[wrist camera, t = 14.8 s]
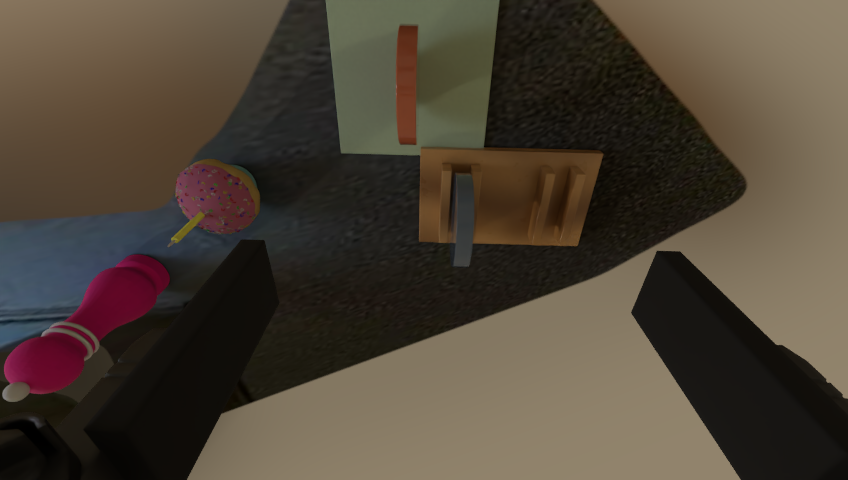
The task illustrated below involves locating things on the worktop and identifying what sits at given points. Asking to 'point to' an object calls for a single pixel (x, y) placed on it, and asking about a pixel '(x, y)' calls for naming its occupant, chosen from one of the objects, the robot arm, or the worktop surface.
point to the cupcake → (216, 197)
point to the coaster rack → (510, 193)
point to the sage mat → (439, 71)
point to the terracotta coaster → (408, 83)
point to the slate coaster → (461, 220)
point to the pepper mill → (84, 328)
